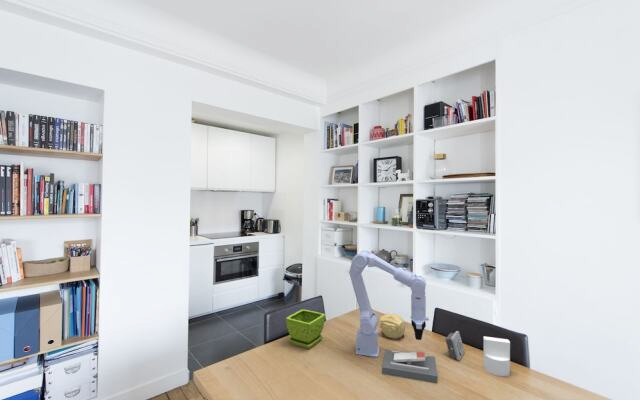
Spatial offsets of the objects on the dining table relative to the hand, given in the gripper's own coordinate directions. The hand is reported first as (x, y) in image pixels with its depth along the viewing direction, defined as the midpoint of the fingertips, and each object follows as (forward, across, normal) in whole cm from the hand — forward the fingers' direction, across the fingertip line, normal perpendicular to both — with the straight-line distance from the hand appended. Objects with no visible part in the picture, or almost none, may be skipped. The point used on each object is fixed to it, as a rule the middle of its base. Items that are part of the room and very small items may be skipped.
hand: (418, 339), depth 123 cm
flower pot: (+10, +3, +51) cm, 52 cm away
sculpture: (+10, +21, +11) cm, 26 cm away
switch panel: (+9, -6, +4) cm, 12 cm away
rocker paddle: (+5, -6, +4) cm, 9 cm away
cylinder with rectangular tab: (+10, +3, -29) cm, 31 cm away
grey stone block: (+10, +10, -16) cm, 21 cm away
